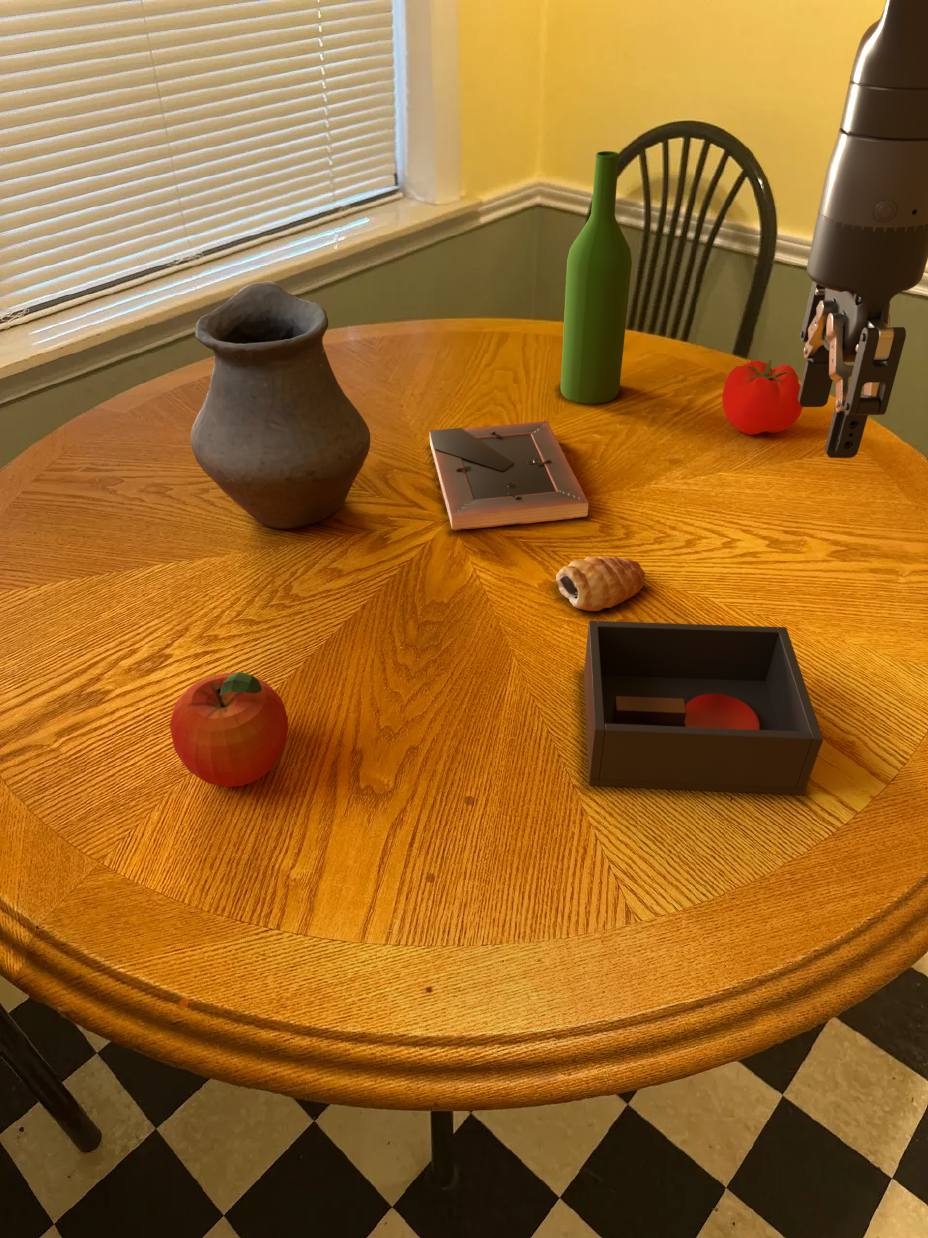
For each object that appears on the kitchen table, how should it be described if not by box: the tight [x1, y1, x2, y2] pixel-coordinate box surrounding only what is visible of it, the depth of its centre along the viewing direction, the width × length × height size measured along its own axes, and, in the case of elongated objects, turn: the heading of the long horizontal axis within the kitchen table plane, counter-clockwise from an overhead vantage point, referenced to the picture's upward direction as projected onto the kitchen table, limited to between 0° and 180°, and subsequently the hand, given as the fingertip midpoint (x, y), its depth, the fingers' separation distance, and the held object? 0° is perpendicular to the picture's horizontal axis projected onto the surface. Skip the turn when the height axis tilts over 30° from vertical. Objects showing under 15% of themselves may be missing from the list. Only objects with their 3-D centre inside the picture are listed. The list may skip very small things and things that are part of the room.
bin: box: [583, 620, 824, 796], centre depth 75 cm, size 18×14×7 cm
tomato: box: [721, 359, 804, 436], centre depth 118 cm, size 11×11×9 cm
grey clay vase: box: [189, 281, 371, 530], centre depth 100 cm, size 21×22×25 cm
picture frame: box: [429, 420, 590, 531], centre depth 110 cm, size 16×2×22 cm
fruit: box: [169, 671, 289, 788], centre depth 72 cm, size 10×10×10 cm
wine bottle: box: [559, 150, 633, 405], centre depth 121 cm, size 9×9×32 cm
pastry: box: [555, 555, 646, 612], centre depth 92 cm, size 9×7×4 cm
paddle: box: [613, 694, 760, 730], centre depth 76 cm, size 13×7×2 cm, turn 86°
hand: (824, 429), depth 67 cm, fingers open, 8 cm apart
